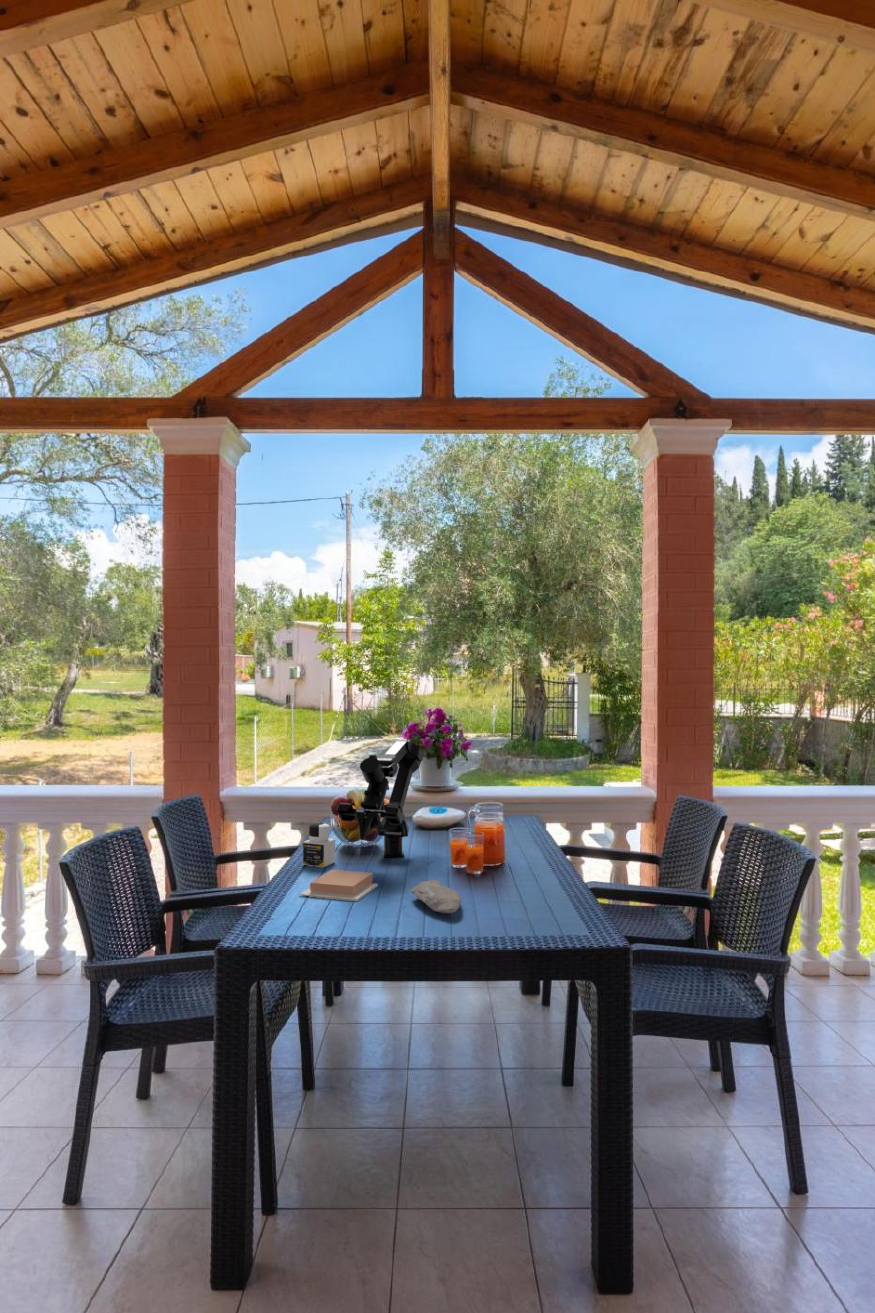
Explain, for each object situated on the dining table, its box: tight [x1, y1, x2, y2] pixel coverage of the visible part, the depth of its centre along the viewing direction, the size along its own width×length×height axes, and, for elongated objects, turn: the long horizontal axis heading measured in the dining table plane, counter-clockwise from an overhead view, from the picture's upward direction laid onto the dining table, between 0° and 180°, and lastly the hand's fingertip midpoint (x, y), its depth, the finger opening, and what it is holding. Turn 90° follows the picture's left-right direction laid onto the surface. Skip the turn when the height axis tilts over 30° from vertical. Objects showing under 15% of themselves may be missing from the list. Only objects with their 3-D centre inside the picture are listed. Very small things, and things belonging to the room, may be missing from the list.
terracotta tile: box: [309, 869, 374, 896], centre depth 219 cm, size 2×12×14 cm
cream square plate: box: [299, 882, 379, 903], centre depth 217 cm, size 15×16×1 cm
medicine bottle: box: [302, 822, 336, 868], centre depth 247 cm, size 7×7×12 cm
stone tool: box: [410, 879, 462, 915], centre depth 205 cm, size 12×5×25 cm
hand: (362, 838), depth 233 cm, fingers closed
